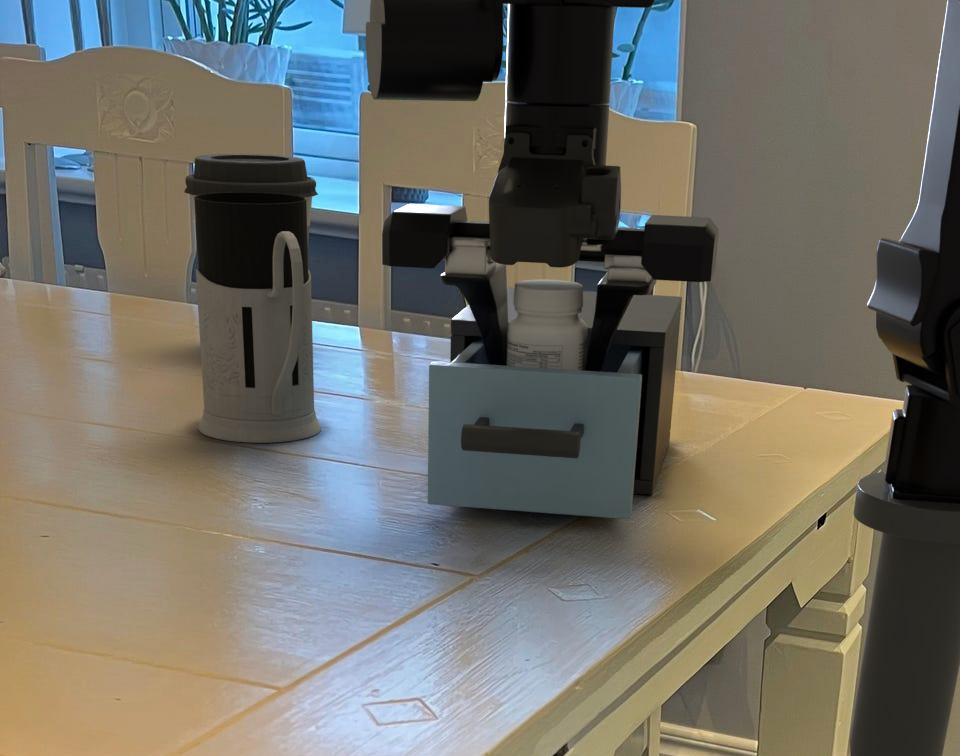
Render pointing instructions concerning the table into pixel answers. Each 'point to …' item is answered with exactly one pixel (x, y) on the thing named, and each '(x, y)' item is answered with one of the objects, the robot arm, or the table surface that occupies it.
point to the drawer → (535, 434)
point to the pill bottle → (547, 326)
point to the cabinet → (658, 331)
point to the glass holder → (255, 317)
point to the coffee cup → (251, 176)
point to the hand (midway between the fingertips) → (544, 399)
